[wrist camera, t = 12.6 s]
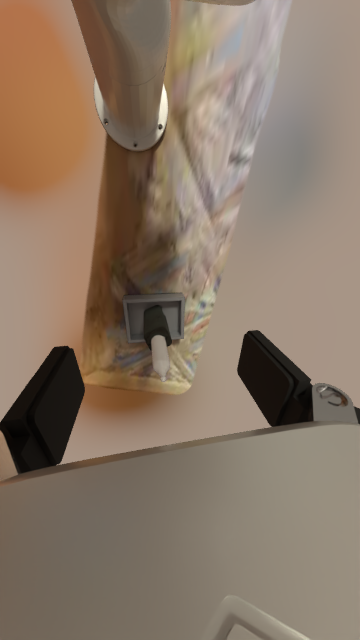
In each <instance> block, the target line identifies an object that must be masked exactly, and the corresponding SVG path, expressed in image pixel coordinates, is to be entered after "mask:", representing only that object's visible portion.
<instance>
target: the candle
mask: <svg viewBox="0 0 360 640" xmlns="http://www.w3.org/2000/svg"><path fill="white" fill-rule="evenodd" d="M144 340H145V341H146V343H147V345H148V347H149V348H150V350H151V351H152V359H153V369H154V371H155V372H157V373H158V374H159V375H160V377H161V381H162V382H165V381H166V373H167V371H168V370H169V369H170V361H169V356H168V351H167V347H168V346H170V345H171V343H172V339H171V335H170V331H169V327H168V323H167V320H166V316H165V315H164V313H163V311H162V307H161V306H160V305H155V306H153V307H151V308H148V309H146V310H145V311H144Z"/></svg>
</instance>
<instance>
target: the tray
mask: <svg viewBox="0 0 360 640" xmlns="http://www.w3.org/2000/svg"><path fill="white" fill-rule="evenodd" d="M155 305H160V306H161V307H162V311H163V313H164V315H165V316H166V320H167V323H168V327H169V331H170V335H171V339H172V340H173V339H184V307H185V297H184V295H183V294H182V293H163V294H140V295H124V297H123V307H124V315H125V323H126V331H127V338H128V343H137V342H146V341H145V340H144V311H145V310H146V309H148V308H151V307H153V306H155Z"/></svg>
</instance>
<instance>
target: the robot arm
mask: <svg viewBox="0 0 360 640" xmlns="http://www.w3.org/2000/svg"><path fill="white" fill-rule="evenodd" d="M71 1H72V4H73V7H74V10H75V13H76V16H77V19H78V22H79V26H80V29H81V32H82V35H83V39H84V42H85V45H86V48H87V51H88V54H89V57H90V61H91V64H92V67H93V70H94V73H95V81H94V100H95V105H96V110H97V112H98V116H99V118H100V121H101V123H102V125H103V127H104V128H105V130H106V132H107V133H108V134H109V136H110V137H111V138H112V139H113V140H114V141H115V142H116V143H117V144H118V145H120V146H122V147H123V148H125V149H128V150H130V151H137V152H138V151H145V150H147V149H150V148H151V147H153V146H154V145H155V144H156V143H157V142H158V141H159V140H160V138H161V136H162V135H163V132H164V130H165V127H166V123H167V117H168V99H167V93H166V90H165V86H164V83H163V82H164V75H165V68H166V60H167V53H168V45H169V37H170V28H171V4H170V0H71ZM187 1H195V2H202V3H210V4H217V5H220V4H221V5H230V6H241V5H246V4H249V3H252V2H253V1H255V0H187ZM106 123H108V125H106ZM159 128H161V130H159ZM134 145H137V147H134ZM237 371H238V375H239V376H240V378H241V380H242V381H243V383H244V384H245V386H246V388H247V389H248V391H249V393H250V394H251V396H252V397H253V399H254V400H255V402H256V404H257V405H258V407H259V409H260V410H261V411H262V413H263V415H264V417H265V418H266V419H267V421H268V423H269V424H270V425H271V426H272V427H270V428H264V429H258V430H252V431H246V432H240V433H234V434H228V435H223V436H217V437H211V438H205V439H200V440H194V441H188V442H182V443H176V444H171V445H165V446H159V447H153V448H148V449H142V450H137V451H131V452H126V453H120V454H115V455H110V456H103V457H98V458H92V459H87V460H82V461H77V462H72V463H67V464H62V465H57V464H59V463H60V462H61V461H62V458H63V455H64V452H65V449H66V446H67V443H68V440H69V437H70V434H71V431H72V428H73V426H74V422H75V420H76V417H77V414H78V410H79V408H80V405H81V402H82V399H83V396H84V392H85V387H84V383H83V380H82V377H81V373H80V370H79V367H78V363H77V360H76V357H75V353H74V350H73V349H72V348H69V347H68V346H60V347H54V348H53V349H52V351H51V352H50V354H49V355H48V356H47V358H46V359H45V361H44V362H43V363H42V365H41V366H40V368H39V369H38V371H37V372H36V373H35V375H34V376H33V377H32V379H31V380H30V381H29V383H28V384H27V386H26V387H25V389H24V390H23V391H22V392H21V394H20V395H19V397H18V398H17V400H16V401H15V402H14V404H13V405H12V407H11V408H10V410H9V411H8V412H7V414H6V415H5V416H4V418H3V419H2V421H1V422H0V640H360V409H359V408H356V407H354V406H353V402H352V401H351V399H350V398H349V396H348V395H347V394H345V393H344V392H343V391H342V390H340V389H338V388H336V387H334V386H332V385H329V384H325V383H317V384H315V385H312V384H311V383H310V381H311V379H310V378H309V377H308V376H307V375H306V374H305V373H304V372H302V371H301V370H300V369H299V368H298V367H297V366H296V365H295V364H294V363H293V362H292V361H291V360H290V359H289V358H288V357H287V356H285V355H284V354H283V353H282V352H281V351H280V350H279V349H278V348H277V347H276V346H275V345H274V344H273V343H272V342H271V341H270V340H268V339H267V338H266V337H265V336H264V335H263V334H262V333H261V332H260V331H258V330H255V331H248V332H247V334H245V335H244V339H243V344H242V349H241V353H240V358H239V364H238V368H237ZM56 465H57V466H56Z"/></svg>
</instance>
